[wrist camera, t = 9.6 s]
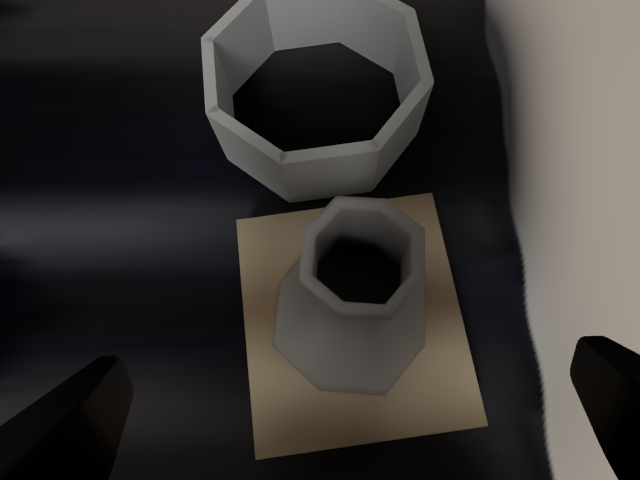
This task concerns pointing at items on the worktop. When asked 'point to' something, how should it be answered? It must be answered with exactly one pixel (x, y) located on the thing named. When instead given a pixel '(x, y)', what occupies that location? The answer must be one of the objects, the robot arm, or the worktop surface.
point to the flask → (354, 298)
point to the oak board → (348, 408)
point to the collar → (301, 31)
